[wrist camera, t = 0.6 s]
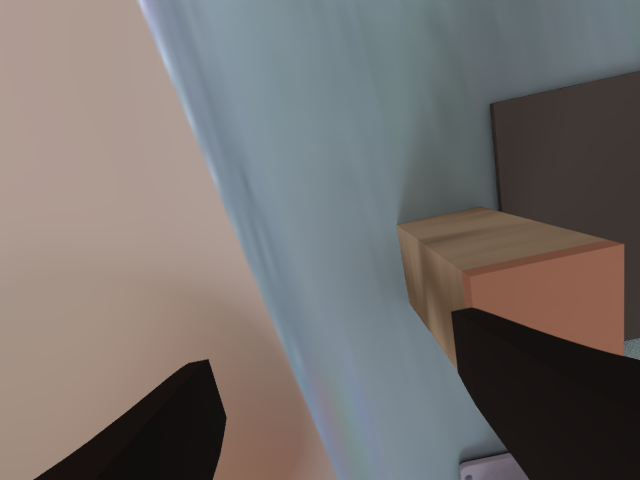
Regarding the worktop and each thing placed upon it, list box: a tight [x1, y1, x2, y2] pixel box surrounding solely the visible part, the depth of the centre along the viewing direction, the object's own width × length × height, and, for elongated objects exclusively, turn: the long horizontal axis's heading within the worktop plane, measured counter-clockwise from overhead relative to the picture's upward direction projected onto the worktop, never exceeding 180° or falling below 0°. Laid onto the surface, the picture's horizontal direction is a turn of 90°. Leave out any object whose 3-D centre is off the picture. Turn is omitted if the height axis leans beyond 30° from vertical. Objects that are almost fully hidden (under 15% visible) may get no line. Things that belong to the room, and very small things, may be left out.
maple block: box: [397, 207, 624, 370], centre depth 16 cm, size 5×5×9 cm
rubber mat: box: [490, 71, 640, 341], centre depth 20 cm, size 16×11×1 cm
